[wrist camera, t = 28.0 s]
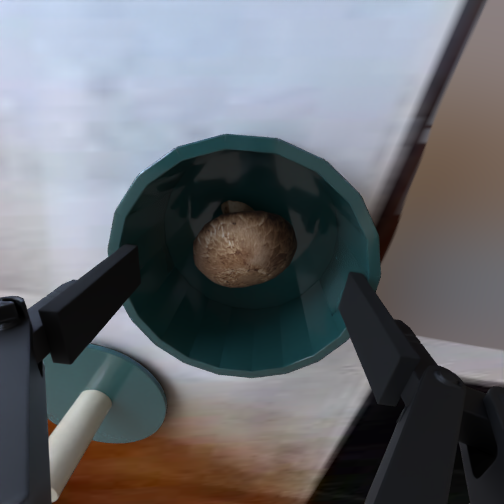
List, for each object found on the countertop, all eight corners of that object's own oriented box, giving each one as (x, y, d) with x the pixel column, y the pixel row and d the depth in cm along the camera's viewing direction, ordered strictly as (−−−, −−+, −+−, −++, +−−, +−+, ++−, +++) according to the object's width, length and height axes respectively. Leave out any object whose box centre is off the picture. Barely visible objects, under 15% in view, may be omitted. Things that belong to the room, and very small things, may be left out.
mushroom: (196, 169, 17) (206, 246, 14) (299, 181, 20) (326, 247, 17) (184, 239, 24) (189, 303, 20) (264, 240, 26) (280, 296, 23)
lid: (4, 350, 31) (-111, 442, 21) (135, 328, 28) (70, 422, 19) (76, 439, 37) (13, 539, 28) (187, 428, 35) (158, 533, 26)
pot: (129, 165, 21) (56, 179, 14) (331, 110, 19) (373, 93, 11) (193, 322, 27) (166, 389, 20) (350, 296, 25) (385, 361, 18)
